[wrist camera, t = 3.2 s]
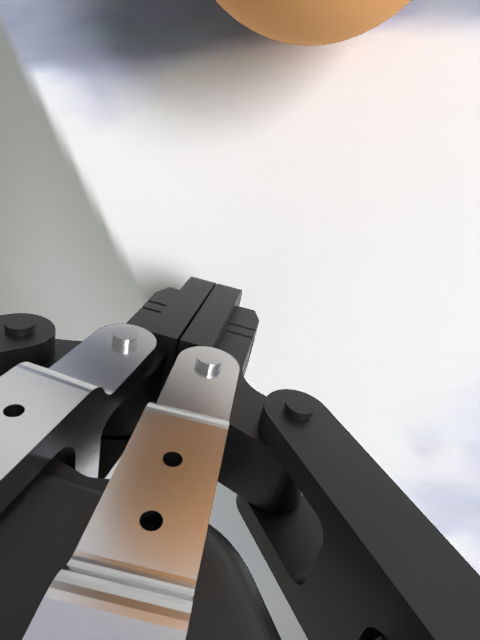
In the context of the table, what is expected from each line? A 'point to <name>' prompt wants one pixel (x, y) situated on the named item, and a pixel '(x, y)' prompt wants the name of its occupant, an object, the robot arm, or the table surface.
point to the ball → (311, 18)
